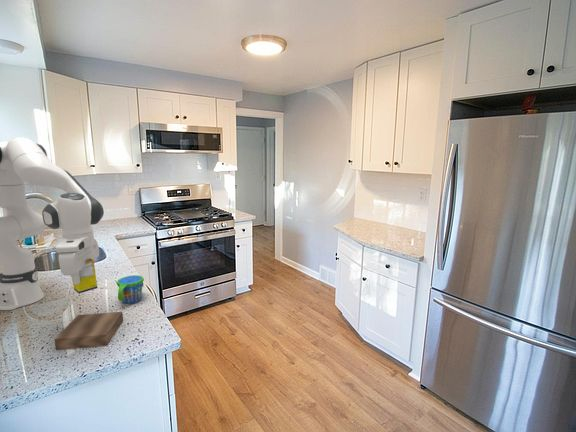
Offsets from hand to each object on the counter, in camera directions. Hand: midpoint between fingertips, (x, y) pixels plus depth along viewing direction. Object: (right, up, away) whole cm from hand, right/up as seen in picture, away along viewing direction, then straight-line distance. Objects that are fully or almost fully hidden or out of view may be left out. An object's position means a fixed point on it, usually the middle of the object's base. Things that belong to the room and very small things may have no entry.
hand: (84, 277), depth 109 cm
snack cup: (+2, -17, +30) cm, 34 cm away
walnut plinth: (0, -22, +4) cm, 22 cm away
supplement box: (0, -4, +1) cm, 4 cm away
